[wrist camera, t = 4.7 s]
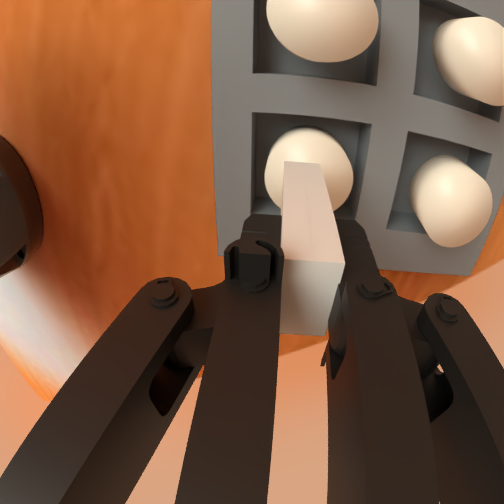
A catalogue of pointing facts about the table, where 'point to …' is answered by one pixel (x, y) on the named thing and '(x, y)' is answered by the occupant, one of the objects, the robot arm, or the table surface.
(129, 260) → the table surface
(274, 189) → the button
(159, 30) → the table surface
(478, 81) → the button
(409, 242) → the board
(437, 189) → the button
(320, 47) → the button
